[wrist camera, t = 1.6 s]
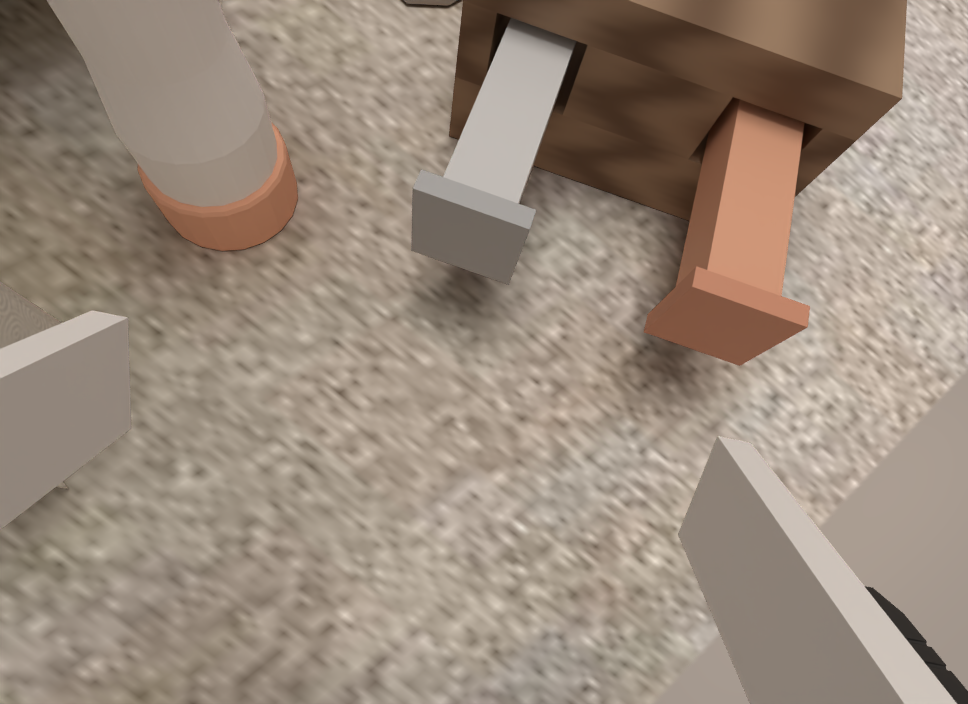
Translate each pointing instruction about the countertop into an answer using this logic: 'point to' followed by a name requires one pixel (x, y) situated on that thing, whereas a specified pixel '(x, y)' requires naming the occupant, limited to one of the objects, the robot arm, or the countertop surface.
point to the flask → (431, 2)
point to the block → (692, 81)
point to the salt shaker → (187, 115)
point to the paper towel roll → (21, 321)
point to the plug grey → (493, 159)
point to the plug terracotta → (738, 241)
